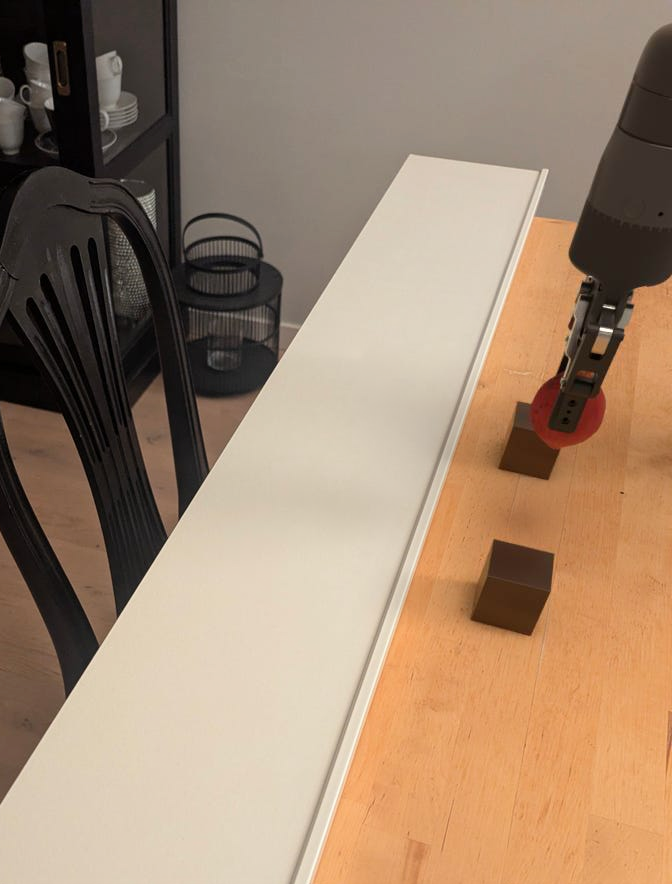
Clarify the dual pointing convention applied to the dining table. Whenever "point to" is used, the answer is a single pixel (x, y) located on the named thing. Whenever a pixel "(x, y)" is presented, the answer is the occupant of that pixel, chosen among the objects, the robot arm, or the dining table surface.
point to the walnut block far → (526, 447)
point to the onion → (545, 404)
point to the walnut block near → (513, 587)
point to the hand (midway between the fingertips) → (562, 409)
